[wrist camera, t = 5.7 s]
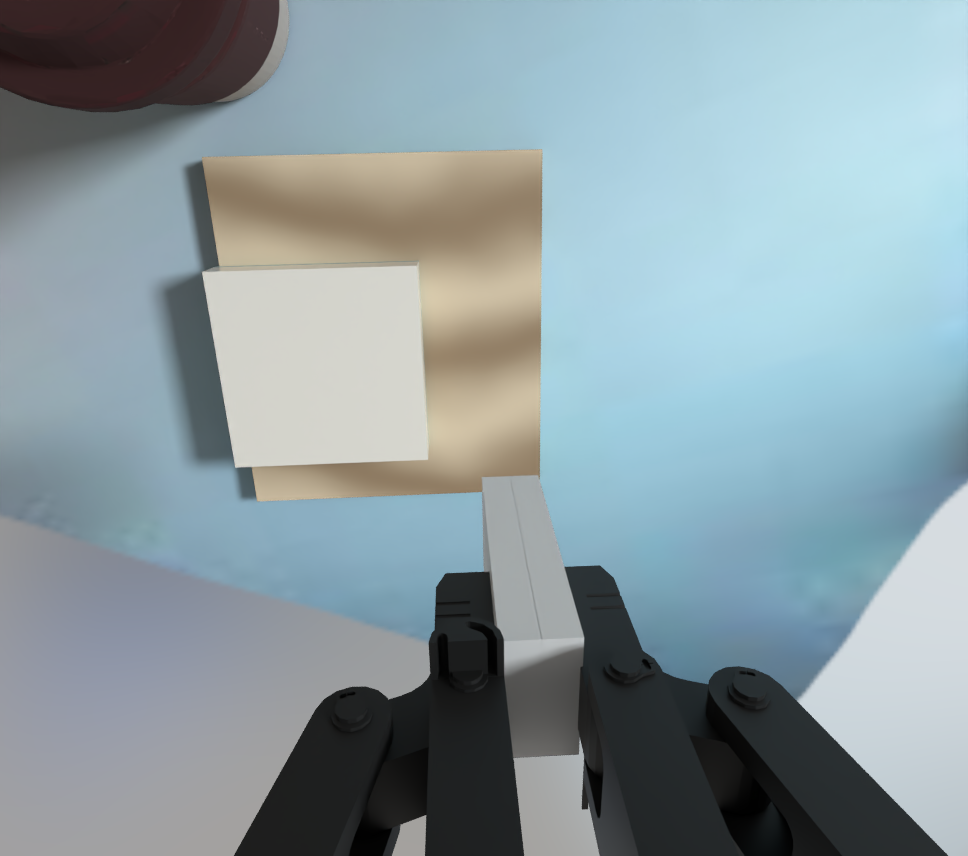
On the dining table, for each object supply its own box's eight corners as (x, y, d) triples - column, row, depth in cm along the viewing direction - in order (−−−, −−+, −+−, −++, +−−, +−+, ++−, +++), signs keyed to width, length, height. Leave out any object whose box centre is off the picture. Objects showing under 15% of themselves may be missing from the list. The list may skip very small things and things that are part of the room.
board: (210, 157, 32) (201, 157, 31) (539, 150, 33) (542, 149, 32) (262, 491, 39) (257, 501, 38) (537, 480, 39) (539, 489, 38)
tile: (418, 260, 33) (215, 266, 33) (417, 265, 31) (202, 271, 31) (429, 445, 37) (246, 452, 37) (428, 459, 35) (235, 467, 35)
